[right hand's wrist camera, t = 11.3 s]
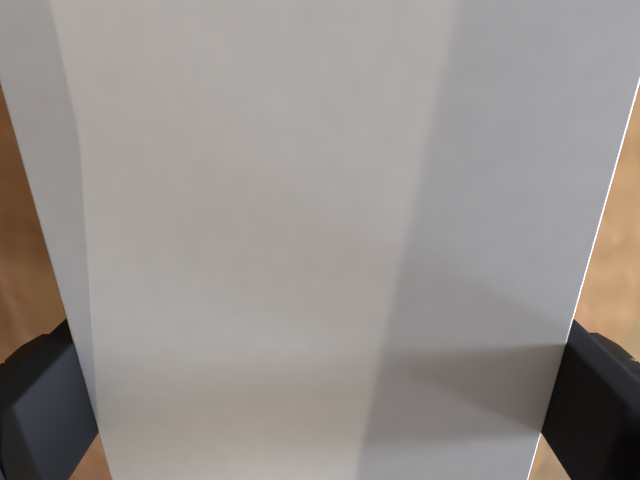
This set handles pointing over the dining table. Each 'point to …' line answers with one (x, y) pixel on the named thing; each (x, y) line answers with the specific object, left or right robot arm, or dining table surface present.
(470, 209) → the cabinet
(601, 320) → the dining table surface
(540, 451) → the dining table surface
